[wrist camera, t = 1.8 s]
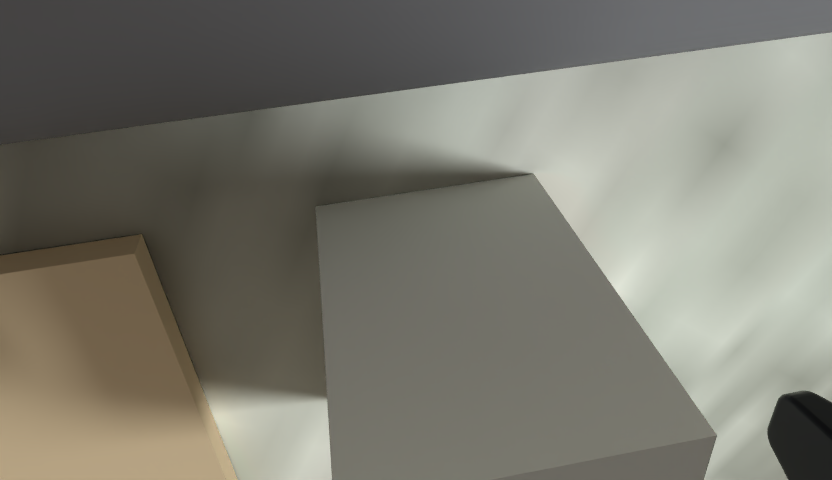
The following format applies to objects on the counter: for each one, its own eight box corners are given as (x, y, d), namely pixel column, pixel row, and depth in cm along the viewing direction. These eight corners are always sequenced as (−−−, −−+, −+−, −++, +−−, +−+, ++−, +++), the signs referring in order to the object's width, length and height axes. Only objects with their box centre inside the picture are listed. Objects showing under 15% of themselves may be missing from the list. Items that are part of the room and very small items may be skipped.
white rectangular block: (533, 172, 11) (717, 435, 6) (527, 366, 14) (652, 653, 9) (315, 206, 11) (334, 511, 6) (353, 398, 14) (387, 713, 9)
